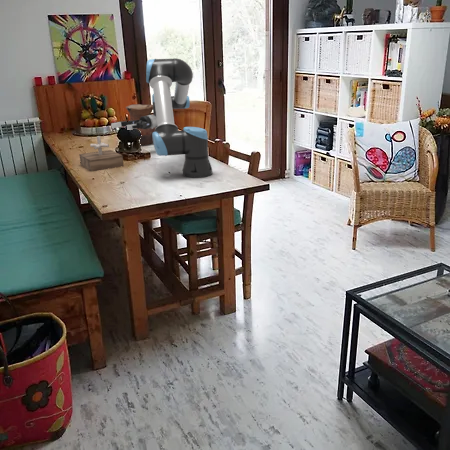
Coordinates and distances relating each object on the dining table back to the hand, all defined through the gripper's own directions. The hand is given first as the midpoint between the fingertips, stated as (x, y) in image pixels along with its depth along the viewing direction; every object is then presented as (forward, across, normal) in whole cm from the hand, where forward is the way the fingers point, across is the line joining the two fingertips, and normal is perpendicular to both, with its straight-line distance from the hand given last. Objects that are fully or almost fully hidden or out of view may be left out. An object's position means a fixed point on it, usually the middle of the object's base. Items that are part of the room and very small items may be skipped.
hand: (119, 126), depth 260 cm
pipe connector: (+14, 0, -13) cm, 20 cm away
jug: (-39, +28, -19) cm, 51 cm away
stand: (+14, 0, -19) cm, 24 cm away
